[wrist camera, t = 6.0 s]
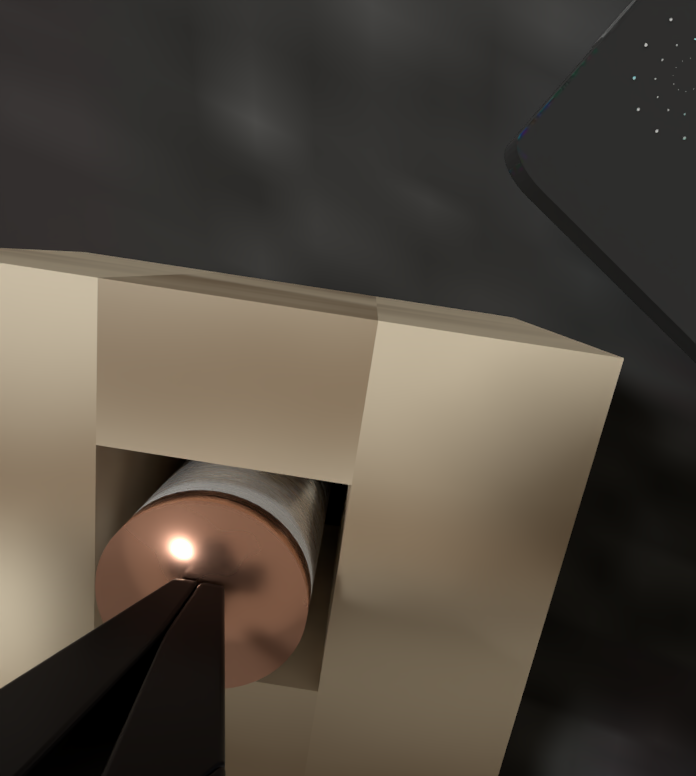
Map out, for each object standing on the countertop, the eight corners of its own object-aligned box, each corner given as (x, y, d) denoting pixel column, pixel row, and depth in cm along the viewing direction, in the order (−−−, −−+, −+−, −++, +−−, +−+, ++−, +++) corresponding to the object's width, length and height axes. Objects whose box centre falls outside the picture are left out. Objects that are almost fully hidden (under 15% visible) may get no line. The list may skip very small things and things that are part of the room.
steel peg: (325, 529, 14) (294, 704, 8) (204, 510, 14) (94, 671, 8) (342, 413, 13) (321, 523, 7) (213, 393, 13) (95, 487, 7)
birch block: (390, 836, 18) (398, 1105, 12) (83, 785, 18) (-52, 1026, 12) (511, 317, 13) (624, 358, 7) (85, 252, 13) (-142, 241, 7)
